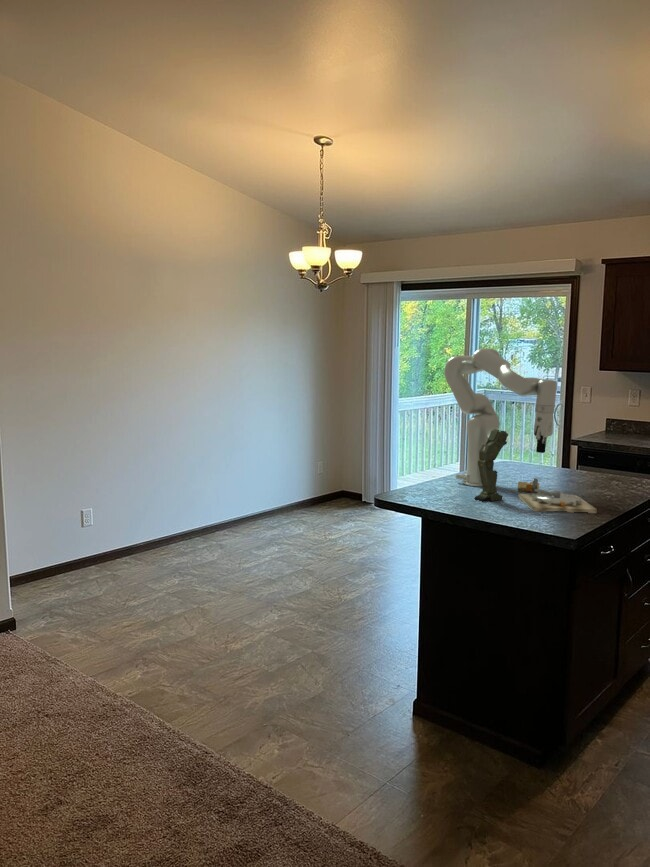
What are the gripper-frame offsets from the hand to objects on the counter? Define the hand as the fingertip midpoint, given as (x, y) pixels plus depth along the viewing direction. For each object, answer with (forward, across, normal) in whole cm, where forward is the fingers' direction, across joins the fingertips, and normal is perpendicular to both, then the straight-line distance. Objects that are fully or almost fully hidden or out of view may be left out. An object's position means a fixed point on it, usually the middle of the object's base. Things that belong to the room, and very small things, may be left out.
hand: (540, 452), depth 287 cm
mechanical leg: (+19, -23, +10) cm, 31 cm away
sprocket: (+16, -13, -12) cm, 24 cm away
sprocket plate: (+18, -13, -13) cm, 26 cm away
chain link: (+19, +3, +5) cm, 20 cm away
